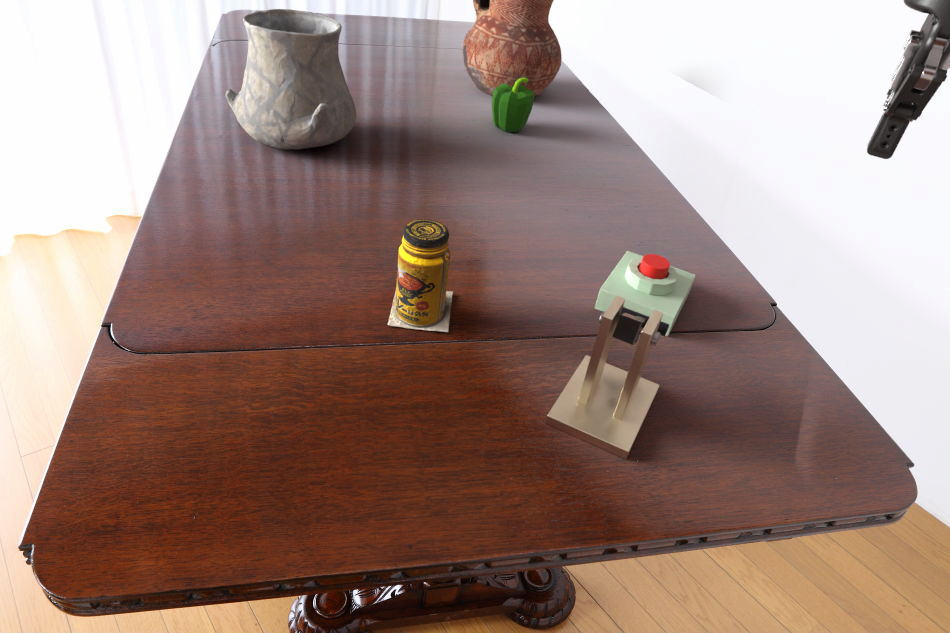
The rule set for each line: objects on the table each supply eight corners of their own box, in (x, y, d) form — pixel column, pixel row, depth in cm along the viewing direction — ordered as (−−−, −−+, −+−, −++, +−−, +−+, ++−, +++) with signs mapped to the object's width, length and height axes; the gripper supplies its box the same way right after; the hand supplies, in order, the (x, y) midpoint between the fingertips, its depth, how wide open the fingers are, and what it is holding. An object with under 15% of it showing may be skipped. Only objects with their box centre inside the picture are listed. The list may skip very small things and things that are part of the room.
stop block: (621, 269, 98) (630, 239, 95) (689, 293, 95) (700, 263, 92) (594, 308, 89) (603, 277, 86) (667, 337, 86) (679, 305, 83)
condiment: (387, 326, 81) (392, 240, 74) (396, 286, 88) (401, 204, 81) (447, 333, 81) (458, 248, 74) (452, 293, 88) (462, 211, 81)
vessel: (248, 108, 129) (239, -6, 117) (365, 123, 130) (367, 12, 118) (208, 154, 112) (193, 26, 100) (343, 171, 113) (344, 47, 101)
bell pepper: (492, 134, 133) (499, 84, 127) (485, 119, 140) (491, 69, 134) (533, 137, 135) (542, 87, 129) (524, 121, 141) (533, 73, 135)
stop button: (643, 262, 92) (646, 250, 90) (669, 271, 90) (673, 260, 89) (635, 273, 89) (639, 262, 88) (662, 283, 88) (666, 272, 87)
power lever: (614, 320, 79) (621, 301, 79) (663, 339, 77) (671, 319, 77) (594, 329, 68) (602, 307, 67) (651, 352, 66) (660, 329, 65)
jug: (559, 86, 163) (582, -29, 148) (547, 114, 146) (571, -12, 131) (470, 68, 166) (483, -46, 151) (448, 94, 149) (460, -31, 134)
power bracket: (583, 362, 80) (609, 271, 73) (657, 392, 78) (691, 301, 70) (544, 423, 71) (569, 327, 64) (626, 460, 69) (662, 364, 61)
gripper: (1047, -31, 48) (922, 190, 59) (1021, -47, 58) (918, 145, 68) (932, -52, 51) (831, 165, 61) (926, -64, 60) (840, 124, 71)
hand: (877, 154), depth 65 cm, fingers closed
